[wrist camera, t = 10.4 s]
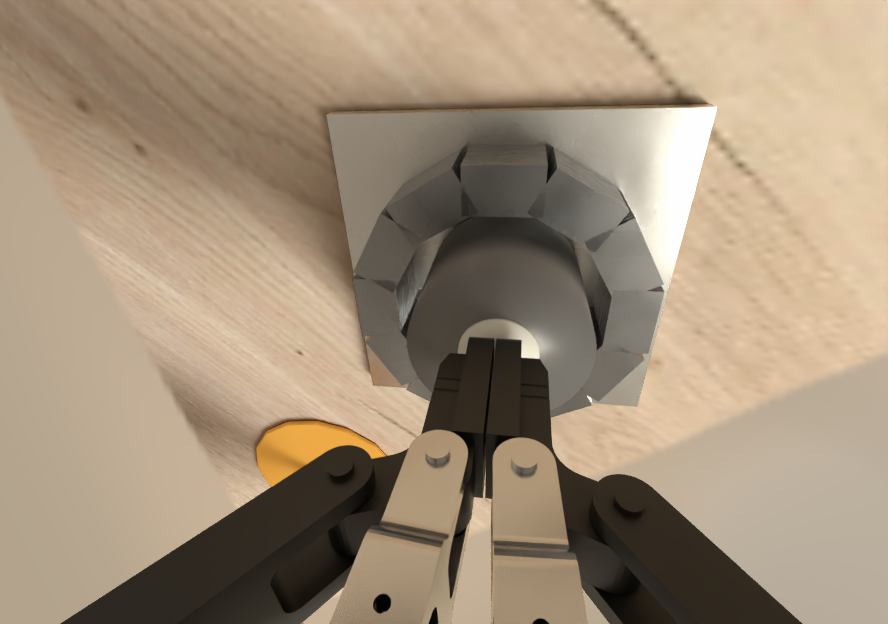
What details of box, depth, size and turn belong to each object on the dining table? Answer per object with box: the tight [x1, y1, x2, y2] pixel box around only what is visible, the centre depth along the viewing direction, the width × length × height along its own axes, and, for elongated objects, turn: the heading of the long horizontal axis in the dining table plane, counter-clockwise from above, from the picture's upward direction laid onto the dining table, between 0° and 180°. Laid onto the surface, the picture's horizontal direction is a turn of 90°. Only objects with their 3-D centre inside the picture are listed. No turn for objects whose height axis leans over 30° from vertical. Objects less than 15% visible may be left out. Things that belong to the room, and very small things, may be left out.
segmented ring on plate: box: [326, 104, 717, 417], centre depth 16 cm, size 12×12×3 cm
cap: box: [407, 217, 597, 411], centre depth 15 cm, size 6×6×5 cm
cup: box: [256, 421, 386, 624], centre depth 20 cm, size 9×9×16 cm
